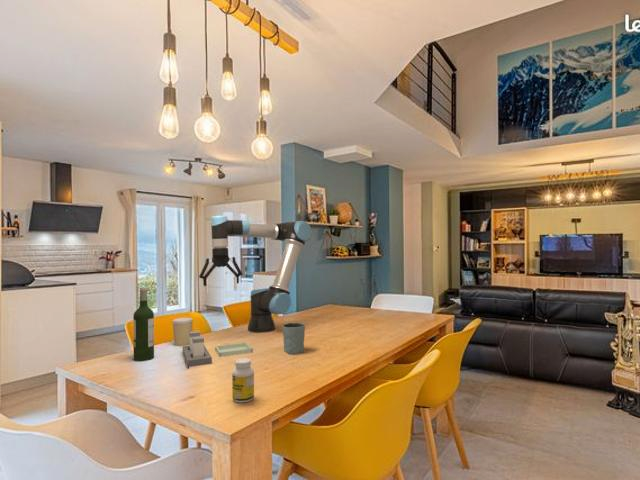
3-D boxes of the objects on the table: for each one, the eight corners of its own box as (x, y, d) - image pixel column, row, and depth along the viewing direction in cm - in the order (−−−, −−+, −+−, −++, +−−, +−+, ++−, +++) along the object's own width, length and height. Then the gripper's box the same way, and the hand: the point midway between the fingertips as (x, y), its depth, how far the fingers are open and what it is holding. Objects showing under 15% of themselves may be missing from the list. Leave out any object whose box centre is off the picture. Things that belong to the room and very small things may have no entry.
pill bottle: (229, 397, 114) (229, 359, 115) (249, 393, 118) (249, 356, 118) (236, 405, 109) (236, 365, 109) (257, 400, 112) (257, 361, 113)
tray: (246, 347, 173) (246, 342, 173) (252, 353, 162) (252, 348, 162) (215, 351, 167) (215, 346, 167) (219, 358, 156) (219, 352, 156)
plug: (202, 360, 153) (202, 336, 154) (204, 363, 150) (203, 338, 150) (192, 362, 152) (192, 337, 152) (193, 364, 148) (193, 339, 148)
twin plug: (198, 353, 164) (198, 330, 165) (200, 355, 161) (199, 332, 161) (189, 354, 163) (189, 331, 163) (190, 357, 159) (190, 333, 159)
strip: (203, 350, 169) (203, 342, 169) (211, 365, 147) (211, 355, 147) (182, 353, 165) (182, 344, 165) (187, 368, 143) (187, 359, 144)
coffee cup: (196, 341, 186) (196, 317, 186) (187, 346, 176) (187, 321, 176) (178, 341, 186) (178, 317, 187) (168, 346, 177) (168, 321, 177)
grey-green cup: (301, 348, 170) (301, 321, 171) (308, 353, 161) (308, 326, 161) (280, 350, 167) (279, 323, 167) (285, 356, 158) (285, 327, 158)
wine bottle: (135, 357, 160) (134, 287, 161) (155, 355, 163) (154, 286, 164) (131, 362, 153) (131, 289, 154) (152, 360, 155) (152, 288, 156)
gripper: (243, 246, 189) (245, 288, 189) (192, 248, 178) (193, 293, 178) (247, 246, 183) (249, 289, 182) (194, 248, 172) (196, 294, 171)
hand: (221, 291), depth 180 cm, fingers open, 13 cm apart
